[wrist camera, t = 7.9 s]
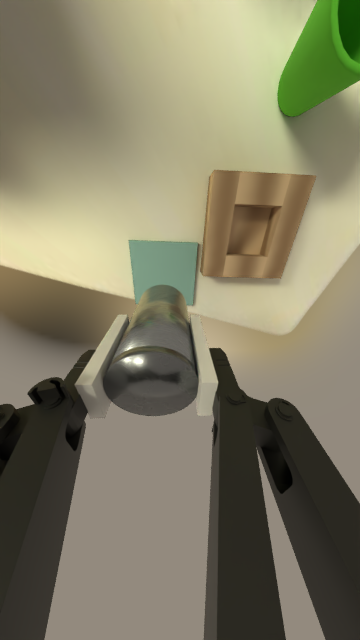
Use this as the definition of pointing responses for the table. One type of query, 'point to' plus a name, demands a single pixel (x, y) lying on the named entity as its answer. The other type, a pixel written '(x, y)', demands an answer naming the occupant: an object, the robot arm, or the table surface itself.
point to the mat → (163, 266)
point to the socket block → (252, 222)
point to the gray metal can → (154, 357)
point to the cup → (322, 57)
